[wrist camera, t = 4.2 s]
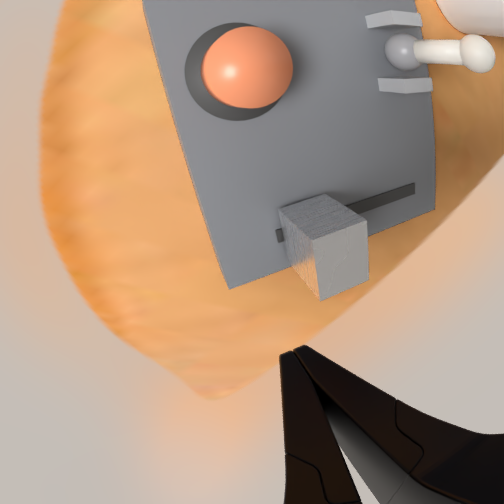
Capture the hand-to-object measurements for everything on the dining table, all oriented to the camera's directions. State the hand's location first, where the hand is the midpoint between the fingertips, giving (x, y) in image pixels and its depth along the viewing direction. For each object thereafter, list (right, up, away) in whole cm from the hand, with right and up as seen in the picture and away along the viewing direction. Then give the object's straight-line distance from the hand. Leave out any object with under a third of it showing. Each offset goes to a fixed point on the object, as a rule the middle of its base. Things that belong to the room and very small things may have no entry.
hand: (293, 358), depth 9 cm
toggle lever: (+6, +13, +3) cm, 14 cm away
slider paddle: (+1, +4, +7) cm, 8 cm away
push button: (-2, +10, +2) cm, 11 cm away
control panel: (+2, +11, +6) cm, 12 cm away
